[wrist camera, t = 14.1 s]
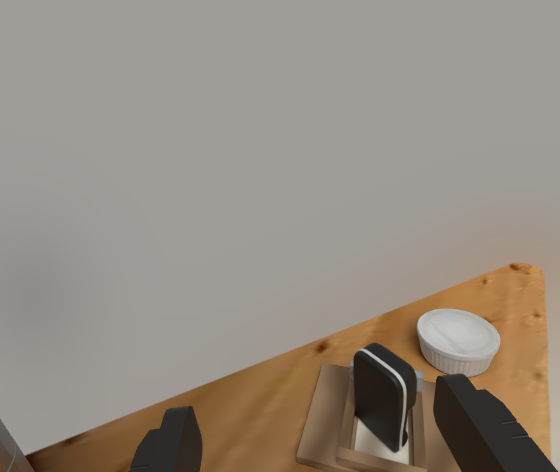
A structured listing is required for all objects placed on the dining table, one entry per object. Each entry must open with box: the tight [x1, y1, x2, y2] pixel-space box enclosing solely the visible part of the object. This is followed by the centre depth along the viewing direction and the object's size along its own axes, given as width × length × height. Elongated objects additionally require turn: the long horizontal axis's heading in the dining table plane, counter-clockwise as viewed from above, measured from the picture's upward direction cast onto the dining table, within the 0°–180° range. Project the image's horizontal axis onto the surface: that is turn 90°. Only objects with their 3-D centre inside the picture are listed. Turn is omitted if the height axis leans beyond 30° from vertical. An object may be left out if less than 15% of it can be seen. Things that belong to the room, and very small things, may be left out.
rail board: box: [296, 360, 461, 472], centre depth 41 cm, size 19×15×5 cm
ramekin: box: [417, 309, 500, 377], centre depth 50 cm, size 11×11×5 cm
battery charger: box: [353, 343, 417, 453], centre depth 38 cm, size 7×4×11 cm, turn 33°
